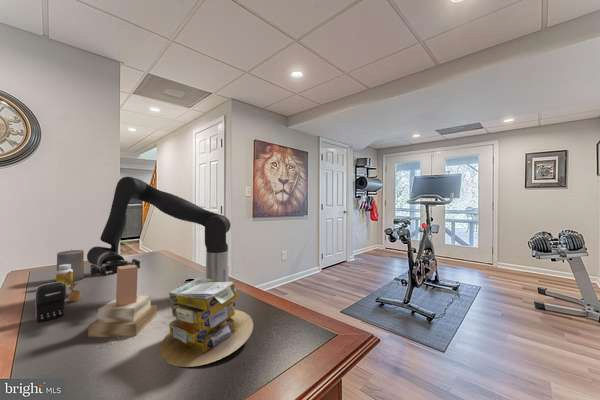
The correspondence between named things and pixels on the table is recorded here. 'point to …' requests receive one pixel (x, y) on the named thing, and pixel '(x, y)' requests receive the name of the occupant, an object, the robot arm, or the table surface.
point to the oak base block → (122, 326)
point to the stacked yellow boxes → (204, 323)
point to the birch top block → (124, 310)
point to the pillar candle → (72, 262)
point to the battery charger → (50, 301)
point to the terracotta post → (126, 284)
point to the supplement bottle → (63, 270)
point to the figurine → (74, 294)
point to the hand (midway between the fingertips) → (120, 270)
